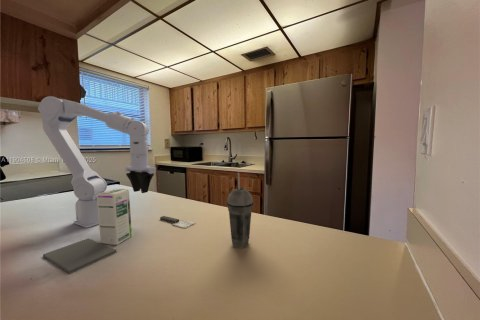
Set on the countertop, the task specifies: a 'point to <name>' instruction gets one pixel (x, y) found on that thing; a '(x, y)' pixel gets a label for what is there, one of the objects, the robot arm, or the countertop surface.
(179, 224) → the spatula
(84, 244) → the mat
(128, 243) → the countertop surface
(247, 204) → the beverage cup
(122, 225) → the syrup box
